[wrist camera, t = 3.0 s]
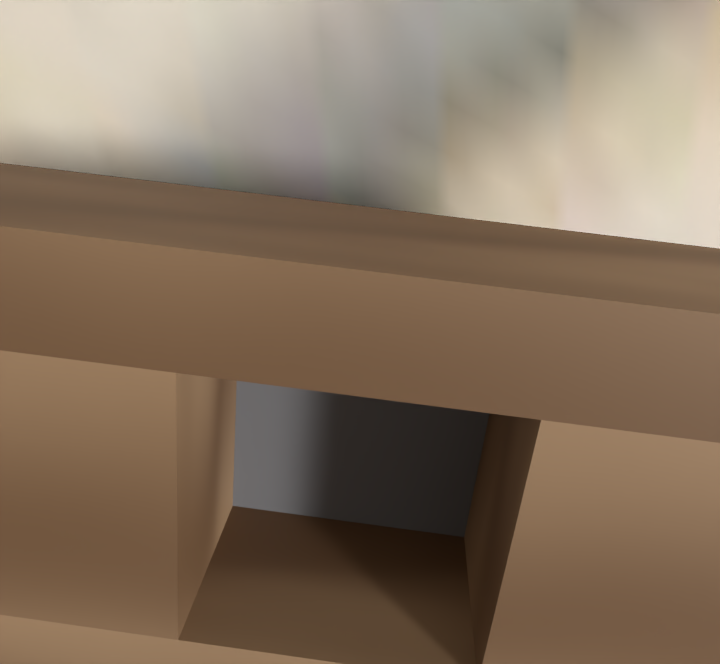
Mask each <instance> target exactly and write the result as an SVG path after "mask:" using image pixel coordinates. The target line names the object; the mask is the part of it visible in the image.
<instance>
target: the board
mask: <svg viewBox="0 0 720 664" xmlns="http://www.w3.org/2000/svg"><path fill="white" fill-rule="evenodd" d="M237 381H243V382H250V383H258V384H266V385H274V386H281V387H289V388H297V389H305V390H312V391H320V392H328V393H336V394H343V395H351V396H359V397H367V398H375V399H382V400H390V401H398V402H406V403H413V404H421V405H429V406H437V407H444V408H452V409H460V410H468V411H475V412H483V413H490V414H489V418H488V423H487V428H486V433H485V438H484V443H483V448H482V453H481V457H480V462H479V467H478V472H477V477H476V482H475V487H474V492H473V496H472V501H471V506H470V511H469V516H468V521H467V526H466V531H465V536H464V537H460V536H452V535H445V534H438V533H430V532H423V531H415V530H408V529H401V528H393V527H386V526H378V525H371V524H364V523H356V522H349V521H341V520H334V519H327V518H319V517H312V516H304V515H297V514H290V513H282V512H275V511H267V510H260V509H253V508H245V507H238V506H233V479H234V448H235V417H236V387H237ZM0 664H720V249H717V248H709V247H700V246H692V245H684V244H675V243H667V242H658V241H650V240H642V239H633V238H625V237H617V236H608V235H600V234H591V233H583V232H575V231H566V230H558V229H549V228H541V227H533V226H524V225H516V224H507V223H499V222H491V221H482V220H474V219H465V218H457V217H449V216H440V215H432V214H424V213H415V212H407V211H398V210H390V209H382V208H373V207H365V206H356V205H348V204H340V203H331V202H323V201H314V200H306V199H298V198H289V197H281V196H273V195H264V194H256V193H247V192H239V191H231V190H222V189H214V188H205V187H197V186H189V185H180V184H172V183H163V182H155V181H147V180H138V179H130V178H121V177H113V176H105V175H96V174H88V173H80V172H71V171H63V170H54V169H46V168H38V167H29V166H21V165H12V164H4V163H0Z"/></svg>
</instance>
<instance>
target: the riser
mask: <svg viewBox="0 0 720 664" xmlns="http://www.w3.org/2000/svg"><path fill="white" fill-rule="evenodd" d="M489 414H490V413H483V412H475V411H468V410H460V409H452V408H444V407H437V406H429V405H421V404H413V403H406V402H398V401H390V400H382V399H375V398H367V397H359V396H351V395H343V394H336V393H328V392H320V391H312V390H305V389H297V388H289V387H281V386H274V385H266V384H258V383H250V382H243V381H237V387H236V417H235V448H234V479H233V506H238V507H245V508H253V509H260V510H267V511H275V512H282V513H290V514H297V515H304V516H312V517H319V518H327V519H334V520H341V521H349V522H356V523H364V524H371V525H378V526H386V527H393V528H401V529H408V530H415V531H423V532H430V533H438V534H445V535H452V536H460V537H464V536H465V531H466V526H467V521H468V516H469V511H470V506H471V501H472V496H473V492H474V487H475V482H476V477H477V472H478V467H479V462H480V457H481V453H482V448H483V443H484V438H485V433H486V428H487V423H488V418H489Z"/></svg>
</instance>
